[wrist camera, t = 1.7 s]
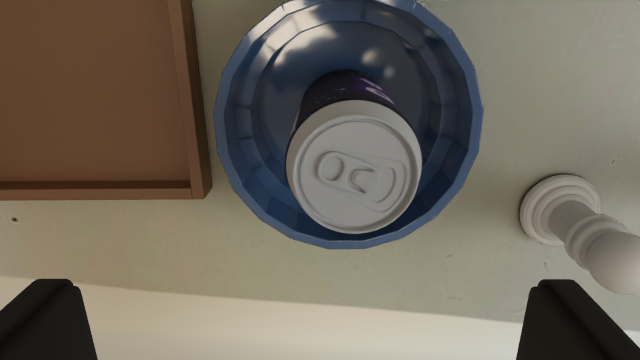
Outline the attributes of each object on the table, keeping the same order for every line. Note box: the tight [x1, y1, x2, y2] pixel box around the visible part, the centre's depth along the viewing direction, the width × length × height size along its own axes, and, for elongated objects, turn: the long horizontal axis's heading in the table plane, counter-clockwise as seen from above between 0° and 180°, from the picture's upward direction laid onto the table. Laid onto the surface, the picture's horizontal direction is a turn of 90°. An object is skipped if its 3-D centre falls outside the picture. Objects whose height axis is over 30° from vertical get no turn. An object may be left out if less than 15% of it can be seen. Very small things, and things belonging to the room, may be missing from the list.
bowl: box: [213, 0, 484, 249], centre depth 25 cm, size 14×14×6 cm
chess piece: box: [520, 175, 640, 295], centre depth 26 cm, size 5×5×9 cm
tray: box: [0, 0, 212, 200], centre depth 26 cm, size 16×15×2 cm
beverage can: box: [285, 69, 423, 234], centre depth 22 cm, size 6×6×12 cm
